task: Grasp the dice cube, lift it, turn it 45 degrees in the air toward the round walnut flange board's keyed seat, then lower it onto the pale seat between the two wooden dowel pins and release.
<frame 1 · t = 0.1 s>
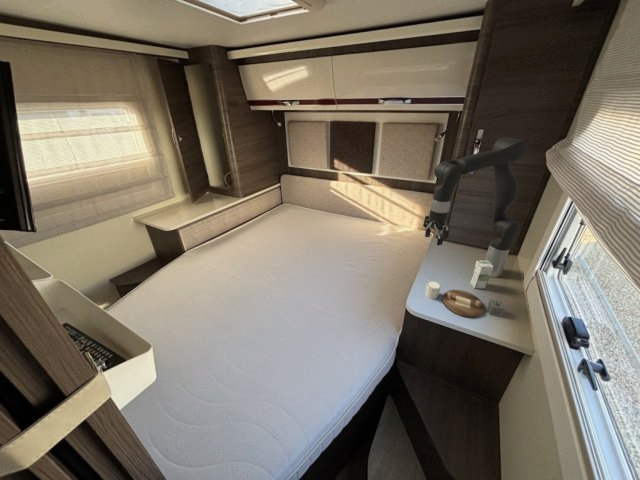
hand: (432, 240, 125), 29 cm above the table, fingers open, 8 cm apart
white cup: (431, 295, 134), on the table
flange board: (462, 304, 128), on the table
dice cube: (493, 312, 123), on the table
syrup box: (477, 285, 140), on the table
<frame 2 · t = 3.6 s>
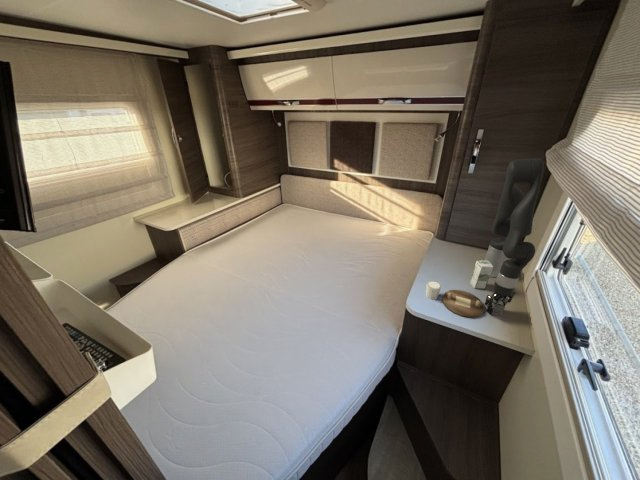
hand: (494, 310, 123), 1 cm above the table, fingers closed on dice cube, 6 cm apart
dice cube: (493, 311, 124), on the table, touching gripper
everything else where it was.
when the fingers open (3 cm above the table, at t = 9.4 s): dice cube stays where it is, resting on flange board.
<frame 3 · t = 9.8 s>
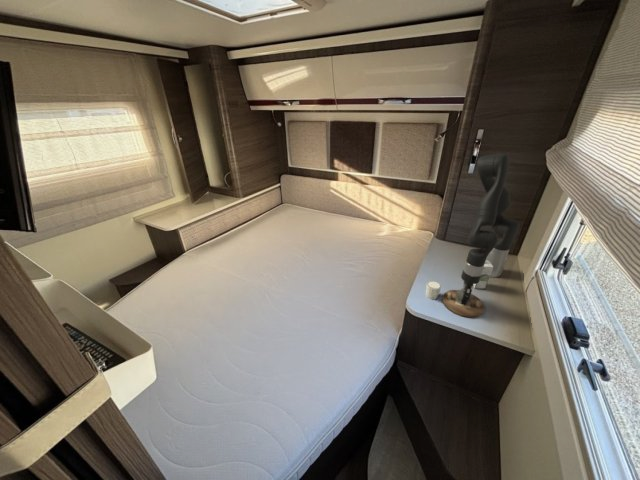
hand: (463, 298, 126), 4 cm above the table, fingers open, 8 cm apart
dice cube: (462, 301, 128), point 1 cm above the table, touching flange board
everything else where it was.
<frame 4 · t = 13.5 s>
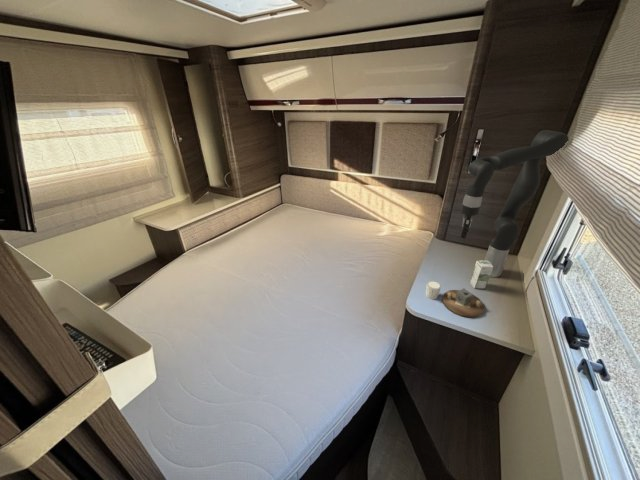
hand: (463, 234, 132), 28 cm above the table, fingers open, 8 cm apart
nothing on the table moved.
at the end: dice cube 0.4 cm off-centre on the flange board, point 1.3 cm above the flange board's base; dice cube tilted 0°; the gripper is holding nothing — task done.
